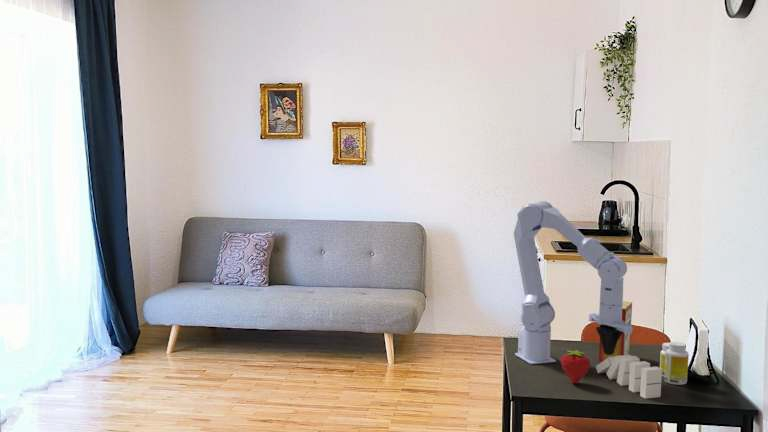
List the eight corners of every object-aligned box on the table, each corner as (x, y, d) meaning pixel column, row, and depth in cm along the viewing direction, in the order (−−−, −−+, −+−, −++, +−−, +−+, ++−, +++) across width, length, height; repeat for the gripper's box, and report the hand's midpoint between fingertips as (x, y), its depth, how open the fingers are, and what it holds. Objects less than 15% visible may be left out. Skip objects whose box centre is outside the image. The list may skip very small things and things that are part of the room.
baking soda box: (606, 352, 224) (608, 298, 222) (629, 355, 221) (632, 301, 219) (598, 361, 216) (601, 304, 214) (622, 364, 213) (625, 307, 211)
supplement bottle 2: (691, 384, 198) (694, 345, 196) (675, 387, 195) (678, 347, 194) (674, 377, 203) (677, 339, 201) (659, 380, 200) (661, 341, 199)
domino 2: (616, 382, 197) (620, 357, 195) (631, 380, 199) (635, 355, 197) (621, 385, 195) (625, 360, 194) (636, 384, 197) (640, 359, 195)
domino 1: (606, 373, 202) (615, 355, 197) (620, 372, 203) (630, 354, 199) (609, 379, 200) (619, 362, 196) (624, 378, 202) (634, 360, 197)
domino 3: (628, 389, 193) (630, 362, 192) (643, 388, 194) (645, 361, 193) (633, 392, 191) (635, 364, 190) (648, 390, 192) (650, 363, 191)
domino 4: (640, 395, 188) (641, 368, 188) (655, 394, 190) (656, 366, 189) (645, 398, 187) (646, 370, 186) (660, 396, 188) (662, 368, 187)
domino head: (595, 366, 206) (608, 356, 200) (609, 364, 207) (623, 355, 202) (597, 373, 205) (611, 364, 199) (612, 372, 206) (625, 363, 201)
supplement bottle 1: (679, 379, 201) (681, 347, 200) (660, 377, 202) (662, 346, 201) (676, 373, 206) (678, 342, 205) (658, 371, 207) (659, 341, 206)
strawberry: (583, 389, 192) (585, 350, 191) (555, 383, 197) (557, 344, 196) (593, 383, 197) (595, 345, 196) (565, 377, 201) (567, 339, 200)
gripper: (580, 298, 207) (578, 348, 209) (618, 310, 194) (615, 363, 196) (601, 296, 210) (599, 345, 212) (639, 308, 197) (637, 360, 199)
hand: (608, 353), depth 204 cm, fingers closed
